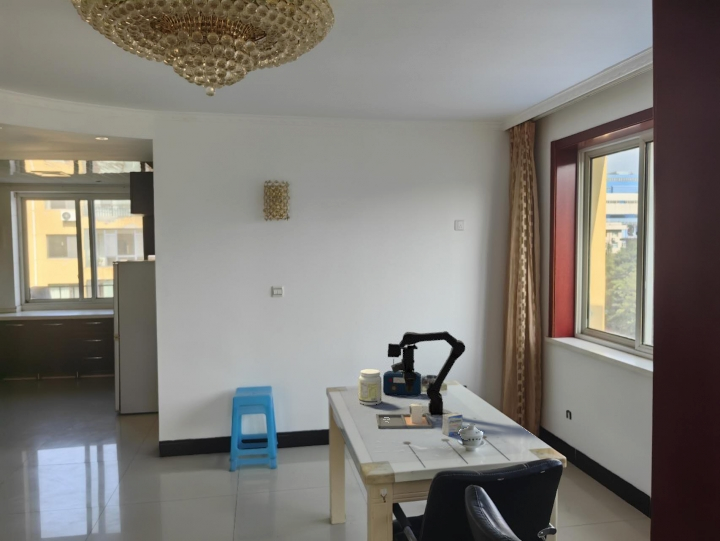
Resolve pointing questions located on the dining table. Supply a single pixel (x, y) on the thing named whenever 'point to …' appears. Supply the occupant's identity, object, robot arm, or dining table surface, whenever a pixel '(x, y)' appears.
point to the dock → (402, 421)
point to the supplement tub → (370, 387)
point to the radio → (400, 384)
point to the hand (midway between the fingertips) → (408, 388)
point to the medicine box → (452, 423)
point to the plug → (416, 413)
